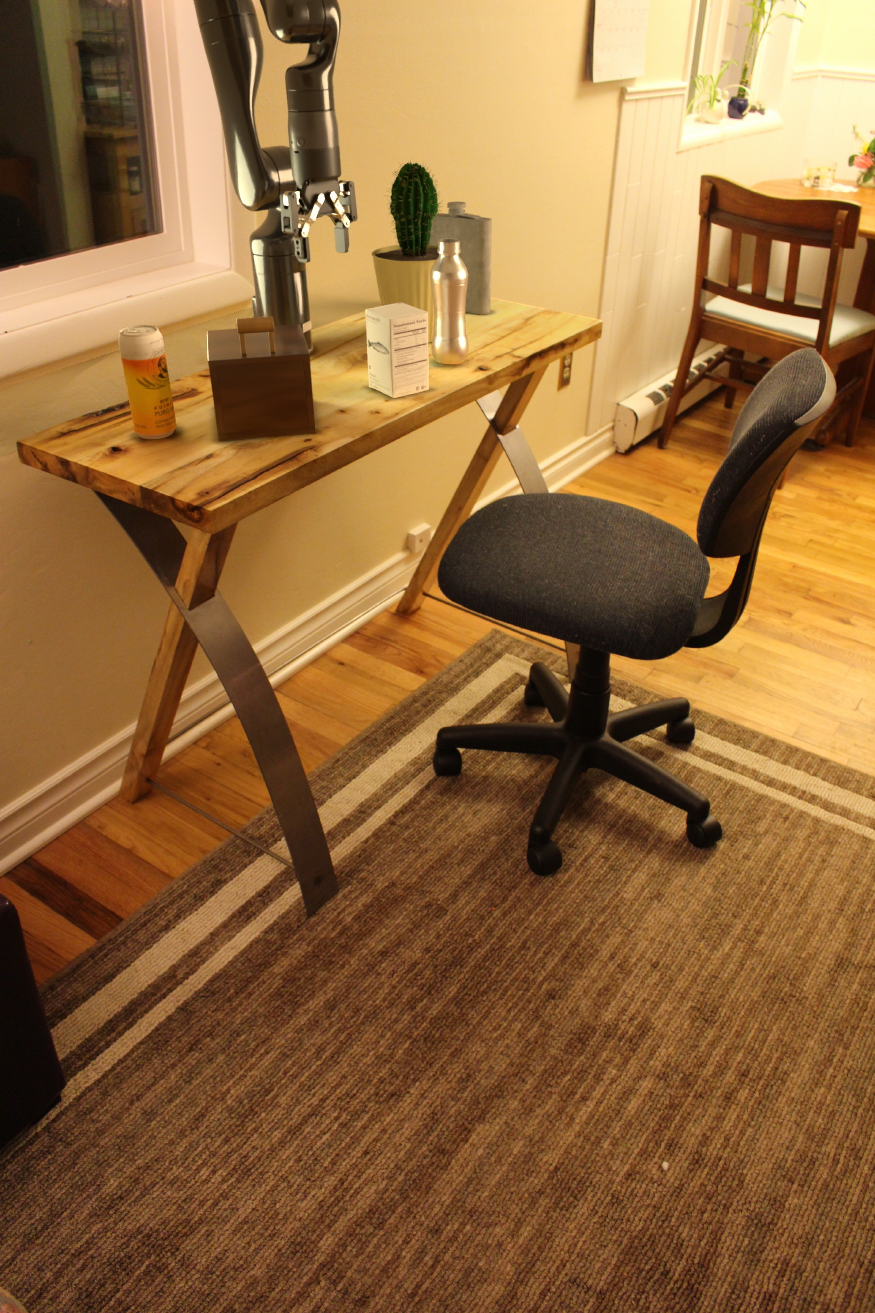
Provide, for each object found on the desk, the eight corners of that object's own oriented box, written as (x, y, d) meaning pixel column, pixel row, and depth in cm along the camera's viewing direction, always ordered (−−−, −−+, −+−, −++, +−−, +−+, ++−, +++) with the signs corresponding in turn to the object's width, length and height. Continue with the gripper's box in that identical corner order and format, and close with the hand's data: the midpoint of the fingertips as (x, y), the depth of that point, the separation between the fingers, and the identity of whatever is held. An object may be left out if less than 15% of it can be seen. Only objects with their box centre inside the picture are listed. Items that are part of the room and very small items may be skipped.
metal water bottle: (442, 370, 174) (441, 246, 163) (424, 360, 179) (422, 239, 168) (475, 364, 176) (476, 241, 165) (457, 355, 181) (456, 234, 170)
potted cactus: (358, 334, 193) (348, 159, 177) (419, 319, 202) (415, 150, 185) (412, 351, 183) (407, 167, 167) (474, 334, 192) (474, 158, 176)
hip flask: (418, 305, 211) (415, 200, 200) (428, 301, 214) (426, 197, 203) (485, 315, 204) (486, 206, 193) (495, 310, 207) (496, 203, 196)
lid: (310, 359, 143) (306, 318, 140) (208, 366, 141) (202, 325, 138) (300, 329, 156) (297, 291, 153) (207, 335, 154) (202, 297, 151)
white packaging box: (367, 387, 167) (363, 308, 160) (405, 378, 170) (402, 300, 163) (392, 399, 162) (388, 317, 155) (430, 390, 165) (429, 310, 158)
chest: (316, 432, 150) (309, 357, 144) (219, 441, 147) (208, 365, 142) (306, 400, 162) (300, 329, 156) (217, 407, 160) (207, 336, 154)
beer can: (167, 441, 148) (149, 336, 139) (128, 439, 149) (108, 334, 141) (184, 426, 153) (168, 324, 144) (146, 424, 154) (128, 323, 146)
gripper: (329, 137, 161) (337, 247, 169) (262, 147, 151) (274, 262, 160) (364, 139, 156) (371, 251, 165) (297, 149, 147) (307, 267, 156)
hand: (323, 256), depth 163 cm, fingers open, 8 cm apart
